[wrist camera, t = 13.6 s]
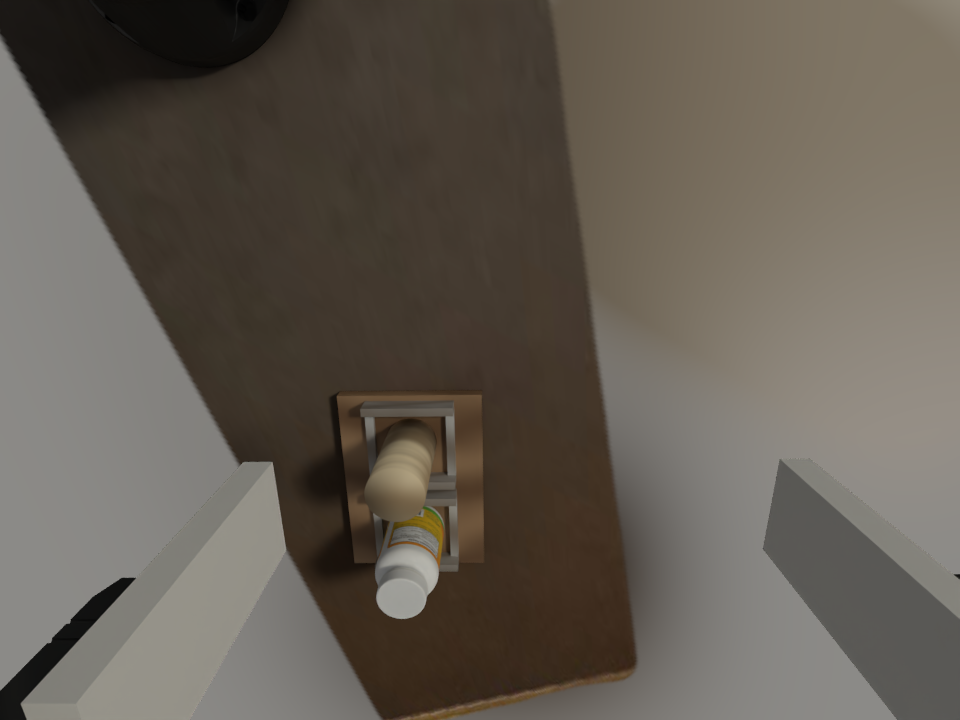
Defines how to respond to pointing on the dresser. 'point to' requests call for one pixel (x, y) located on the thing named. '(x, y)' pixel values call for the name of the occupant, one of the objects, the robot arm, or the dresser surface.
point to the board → (451, 476)
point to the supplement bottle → (409, 563)
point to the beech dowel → (402, 471)
